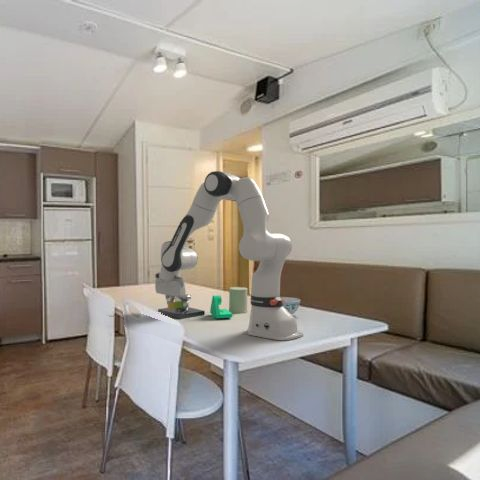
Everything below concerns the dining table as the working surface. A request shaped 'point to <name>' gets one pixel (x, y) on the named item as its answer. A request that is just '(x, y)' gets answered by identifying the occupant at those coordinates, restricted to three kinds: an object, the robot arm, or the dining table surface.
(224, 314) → the camera mount
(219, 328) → the dining table surface
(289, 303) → the chinaware
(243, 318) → the dining table surface
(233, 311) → the can
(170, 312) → the base
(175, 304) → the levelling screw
